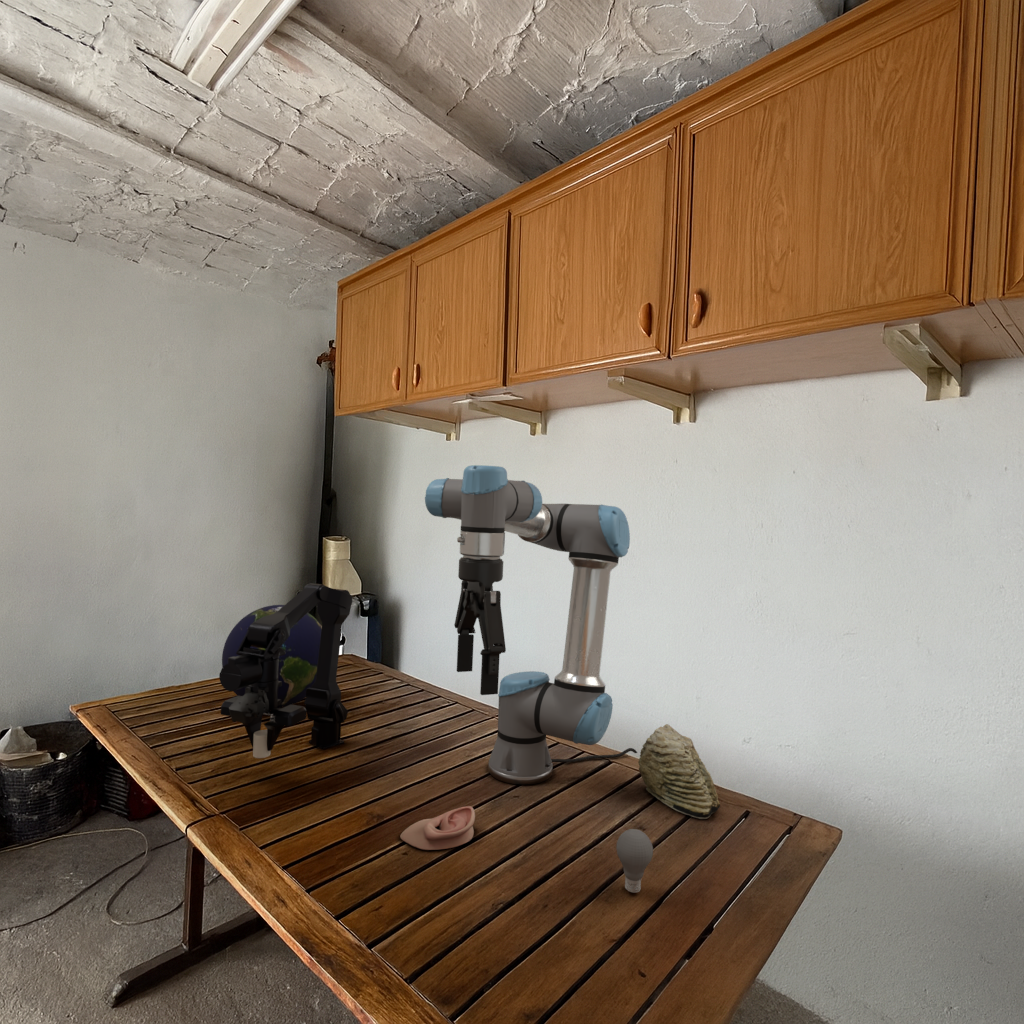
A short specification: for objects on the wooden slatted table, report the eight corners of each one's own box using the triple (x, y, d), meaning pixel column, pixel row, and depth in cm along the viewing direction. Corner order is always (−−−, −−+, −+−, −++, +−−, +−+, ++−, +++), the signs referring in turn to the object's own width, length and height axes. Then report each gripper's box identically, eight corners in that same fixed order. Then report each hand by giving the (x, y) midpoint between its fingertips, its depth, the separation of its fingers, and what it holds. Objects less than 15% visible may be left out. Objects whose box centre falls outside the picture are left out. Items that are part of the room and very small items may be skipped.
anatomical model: (394, 823, 116) (416, 795, 127) (393, 845, 116) (415, 815, 127) (464, 834, 113) (480, 805, 125) (463, 856, 113) (479, 825, 125)
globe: (289, 685, 209) (292, 594, 208) (348, 705, 191) (352, 606, 191) (199, 706, 185) (203, 604, 184) (258, 732, 167) (262, 619, 167)
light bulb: (610, 879, 108) (613, 822, 108) (644, 879, 109) (647, 822, 109) (619, 902, 102) (622, 840, 102) (655, 901, 103) (658, 840, 103)
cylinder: (251, 753, 140) (251, 731, 140) (268, 750, 143) (268, 728, 142) (255, 759, 137) (256, 737, 137) (272, 756, 140) (273, 734, 139)
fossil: (649, 780, 149) (652, 716, 148) (724, 809, 136) (728, 740, 135) (628, 791, 142) (631, 725, 142) (704, 823, 129) (708, 750, 129)
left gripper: (202, 683, 135) (200, 755, 135) (275, 695, 129) (272, 770, 129) (240, 670, 146) (237, 737, 146) (309, 680, 140) (306, 750, 140)
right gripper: (441, 550, 117) (436, 664, 118) (483, 565, 94) (477, 707, 94) (479, 550, 120) (474, 662, 120) (530, 565, 97) (524, 703, 97)
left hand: (262, 748), depth 140 cm, fingers closed on cylinder, 4 cm apart
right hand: (476, 682), depth 107 cm, fingers open, 13 cm apart
